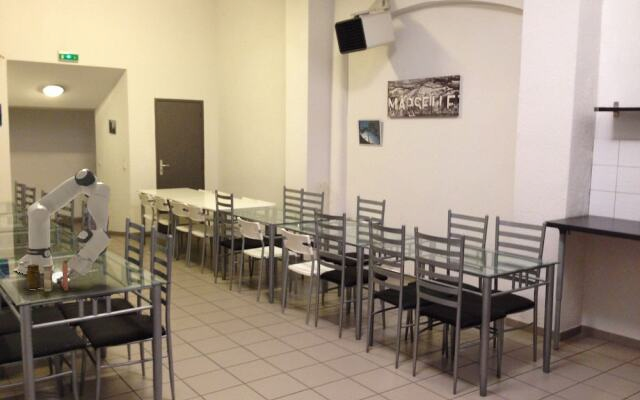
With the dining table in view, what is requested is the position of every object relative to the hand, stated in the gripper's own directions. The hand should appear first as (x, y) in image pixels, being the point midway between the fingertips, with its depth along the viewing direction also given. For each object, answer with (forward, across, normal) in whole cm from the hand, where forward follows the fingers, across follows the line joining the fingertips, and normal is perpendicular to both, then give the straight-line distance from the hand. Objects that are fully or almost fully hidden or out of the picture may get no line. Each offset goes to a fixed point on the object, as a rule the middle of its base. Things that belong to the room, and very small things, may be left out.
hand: (68, 278), depth 295 cm
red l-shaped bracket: (+4, +3, -3) cm, 6 cm away
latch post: (+10, +2, +3) cm, 11 cm away
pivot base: (+3, +14, -4) cm, 15 cm away
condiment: (+14, +10, +6) cm, 18 cm away
